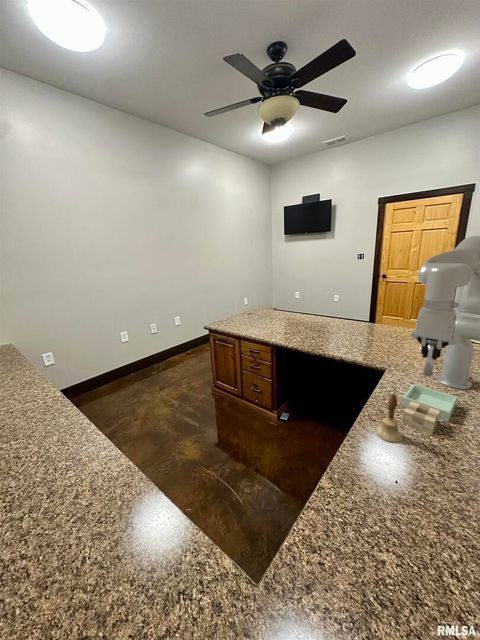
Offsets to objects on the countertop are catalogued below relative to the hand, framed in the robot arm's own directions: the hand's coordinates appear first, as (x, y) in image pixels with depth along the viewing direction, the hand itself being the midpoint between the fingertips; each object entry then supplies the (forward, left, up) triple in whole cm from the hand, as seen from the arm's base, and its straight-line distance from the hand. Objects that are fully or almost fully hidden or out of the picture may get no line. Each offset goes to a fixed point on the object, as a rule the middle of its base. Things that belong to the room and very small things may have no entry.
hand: (430, 357), depth 87 cm
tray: (-14, -1, -26) cm, 30 cm away
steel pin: (0, 0, -7) cm, 7 cm away
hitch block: (0, 0, -26) cm, 26 cm away
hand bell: (+14, -6, -26) cm, 30 cm away
